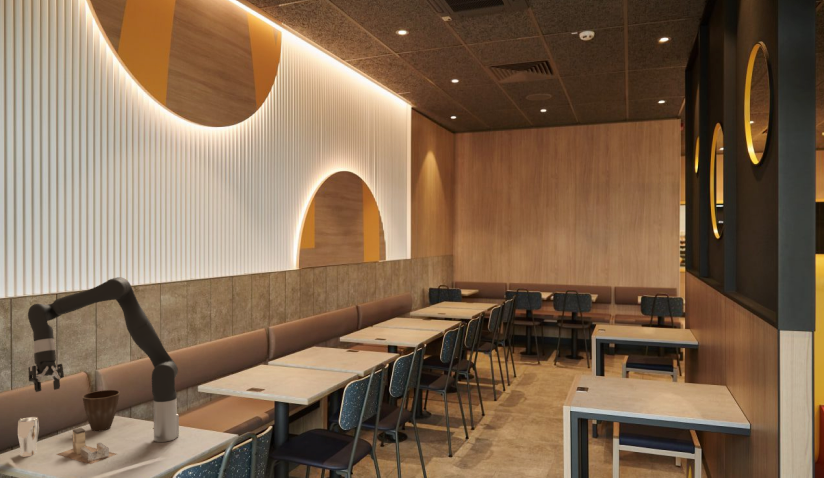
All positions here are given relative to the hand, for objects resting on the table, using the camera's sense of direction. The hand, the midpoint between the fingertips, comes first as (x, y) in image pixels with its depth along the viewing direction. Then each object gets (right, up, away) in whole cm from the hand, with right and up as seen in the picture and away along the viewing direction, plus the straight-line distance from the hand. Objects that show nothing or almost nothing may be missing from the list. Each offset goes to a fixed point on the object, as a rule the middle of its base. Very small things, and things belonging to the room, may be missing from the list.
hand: (47, 390), depth 226 cm
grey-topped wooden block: (+15, -24, -4) cm, 29 cm away
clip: (+24, -24, -8) cm, 35 cm away
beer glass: (-4, -25, -5) cm, 26 cm away
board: (+20, -25, -6) cm, 32 cm away
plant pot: (+7, -25, +28) cm, 38 cm away
